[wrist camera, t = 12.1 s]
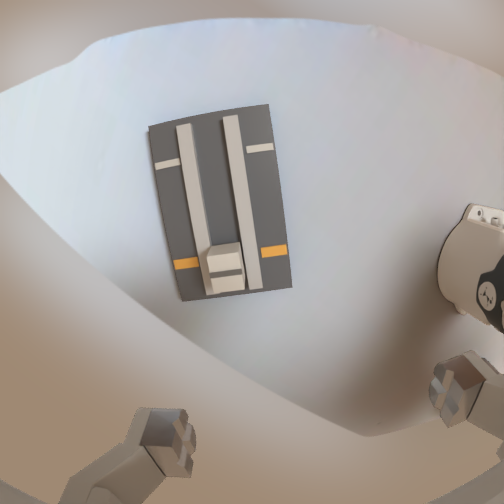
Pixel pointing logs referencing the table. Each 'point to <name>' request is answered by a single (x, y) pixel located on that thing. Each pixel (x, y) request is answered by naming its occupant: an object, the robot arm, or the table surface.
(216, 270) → the fader knob
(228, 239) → the slider console
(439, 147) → the table surface
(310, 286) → the table surface
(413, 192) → the table surface
